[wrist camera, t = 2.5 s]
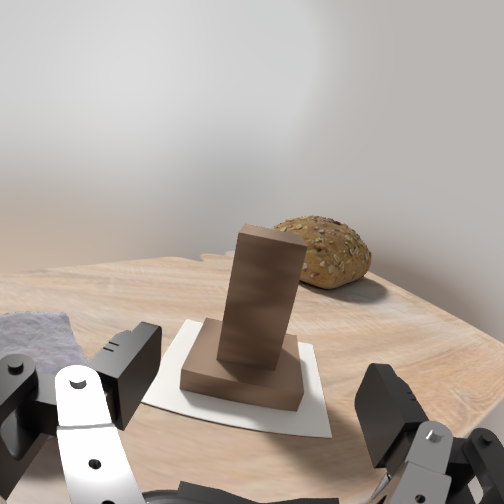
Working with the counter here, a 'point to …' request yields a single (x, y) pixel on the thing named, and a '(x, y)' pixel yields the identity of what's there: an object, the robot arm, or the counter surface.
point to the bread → (329, 251)
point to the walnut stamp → (253, 327)
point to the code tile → (234, 413)
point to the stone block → (40, 341)
